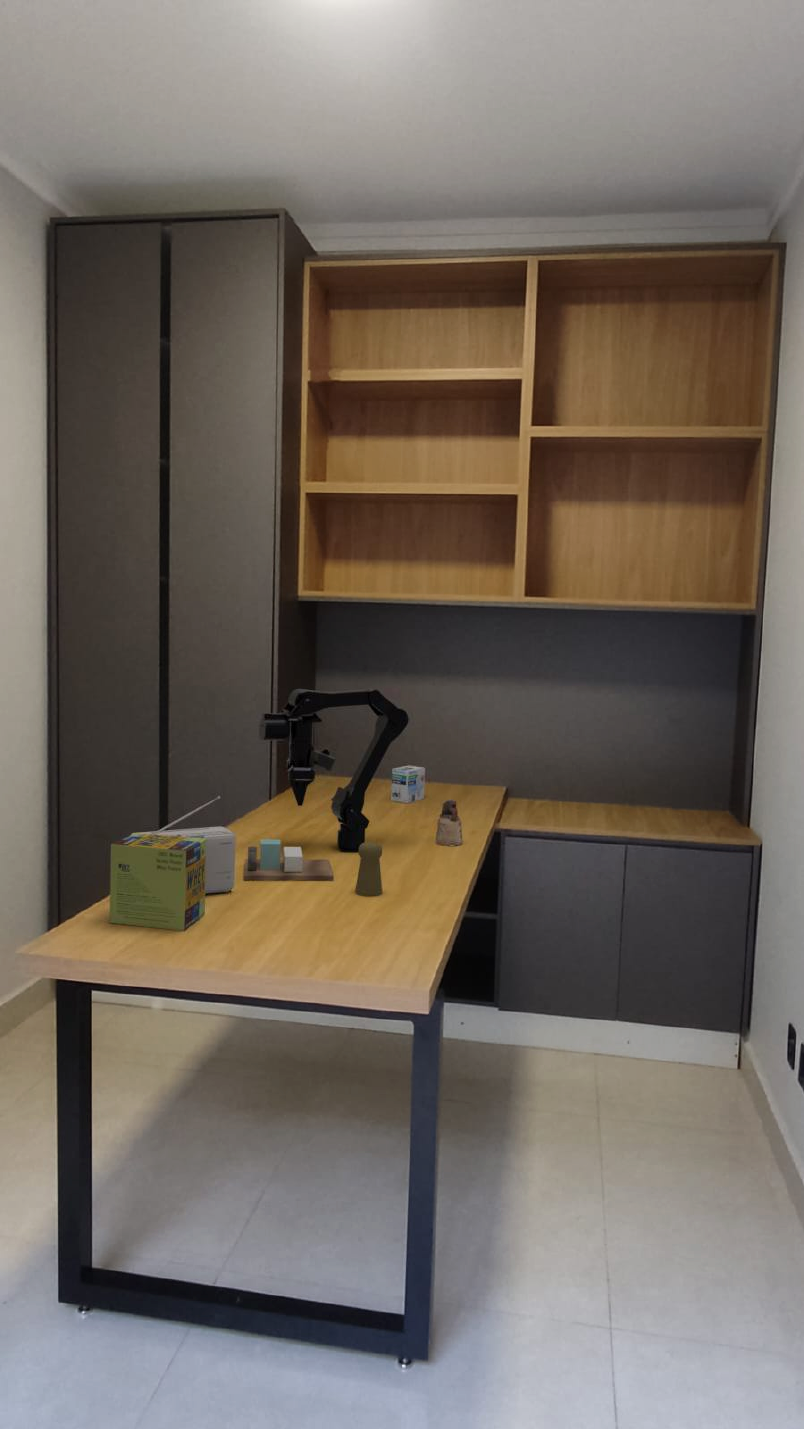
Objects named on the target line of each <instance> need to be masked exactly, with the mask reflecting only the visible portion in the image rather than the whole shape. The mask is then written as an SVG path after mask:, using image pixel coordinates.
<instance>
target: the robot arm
mask: <svg viewBox="0 0 804 1429" xmlns="http://www.w3.org/2000/svg"><path fill="white" fill-rule="evenodd" d="M366 705H367V706H368V707H369V708H370V709H371V711H372V712H373V713H374V715H376V716H377V719H376V722H375V726H374V735H373V737H372V739H371V741H370V743H369V745H368V746H367V749H366V751H365V753H364V754H363V757H362V759H361V760H360V762H359V764H358V767H357V768H356V770H355V772H354V774H353V776H352V777H351V779H350V781H349V783H348V784H347V785H346V786H345V787H344V788H343V787H341V786H338V787H337V789H336V791H335V794H334V796H333V797H332V798H331V799H330V800H331V801H332V802H331V805H330V806H331V807H330V809H331V812H332V814H333V815H334V816H335V817H336V819H337V822H338V823H339V829H337V832H336V833H337V834H336V835H337V836H336V838H337V839H336V842H337V843H336V846H337V848H338V849H339V852H354V853H355V852H358V851H359V846H360V845H361V844H362V843H365V841H366V839H365V838H366V829H368V827H369V824H370V819H368V818H367V816H366V815H365V814H363V812H362V811H363V808H364V805H365V797H366V796H365V795H366V791H367V789H368V787H369V785H370V784H371V782H372V780H373V778H374V776H375V774H376V772H377V771H378V768H379V766H380V765H381V762H382V761H383V759H384V757H385V755H386V753H387V751H388V749H389V747H390V746H391V744H392V743H393V742H394V741H395V740H396V739H398V737H399V736H401V734H402V733H403V732H404V730H405V729H406V728H407V726H408V725H409V721H410V719H409V716H408V713H407V711H406V710H404V709H403V708H399V707H397V706H396V705H395V704H394V703H392V702H391V701H390V700H389V699H388V698H386V697H385V696H384V695H383V694H382V692H380V691H379V690H378V689H375V688H371V687H368V688H365V689H351V690H338V691H320V690H312V689H303V688H297V689H296V688H295V689H294V690H292V692H291V693H290V694H289V696H288V700H287V702H286V704H285V705H284V707H283V708H281V711H280V712H279V713H278V712H277V713H274V712H273V713H272V712H271V713H270V712H262V713H261V719H260V721H259V725H258V736H259V739H260V740H261V741H262V742H265V741H269V742H271V741H285V740H286V739H287V738H289V742H288V745H289V746H288V747H289V756H288V758H287V760H286V768H287V774H288V781H289V784H290V786H291V790H292V792H293V796H294V798H295V802H296V803H297V806H298V807H302V806H303V805H304V801H305V797H306V793H307V790H308V787H309V785H310V784H312V783H314V781H315V779H316V771H315V769H314V768H313V767H314V766H315V765H316V766H317V767H321V768H323V769H325V770H326V771H332V768H333V766H334V763H335V761H336V758H335V757H334V756H333V755H331V754H330V753H331V752H330V749H327V748H324V747H323V748H322V749H321V750H317V749H315V745H314V723H322V722H323V720H322V719H321V718H320V717H319V715H318V714H317V713H318V712H321V711H322V710H323V711H324V710H325V709H329V708H339V707H340V708H341V707H352V706H353V707H354V706H355V707H356V706H366Z"/></svg>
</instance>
